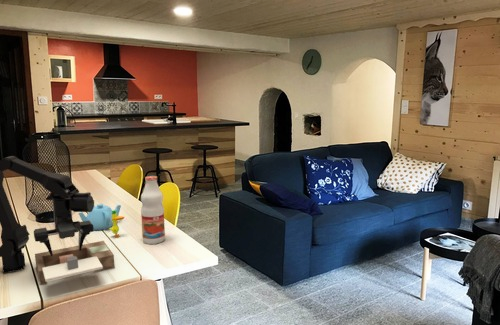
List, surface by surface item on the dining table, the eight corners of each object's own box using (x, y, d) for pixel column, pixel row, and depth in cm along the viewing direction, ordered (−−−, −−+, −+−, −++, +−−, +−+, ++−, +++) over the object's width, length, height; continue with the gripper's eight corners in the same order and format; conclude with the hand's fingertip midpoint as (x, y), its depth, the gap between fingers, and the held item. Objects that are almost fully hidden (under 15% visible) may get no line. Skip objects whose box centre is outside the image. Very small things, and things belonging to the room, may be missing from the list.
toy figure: (124, 233, 176) (123, 208, 173) (126, 236, 172) (124, 210, 170) (108, 236, 172) (107, 210, 170) (110, 238, 169) (108, 212, 167)
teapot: (77, 231, 178) (75, 208, 176) (92, 220, 193) (90, 199, 191) (110, 232, 178) (108, 209, 176) (122, 221, 192) (121, 200, 190)
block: (61, 273, 138) (60, 261, 137) (60, 268, 142) (59, 256, 141) (75, 270, 140) (74, 258, 139) (73, 265, 144) (72, 254, 143)
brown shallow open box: (40, 285, 129) (38, 270, 128) (36, 266, 142) (34, 253, 142) (114, 267, 142) (113, 254, 141) (104, 252, 155) (103, 240, 154)
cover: (45, 281, 120) (44, 270, 120) (42, 270, 128) (41, 259, 128) (102, 268, 130) (102, 257, 129) (96, 258, 137) (95, 248, 137)
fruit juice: (162, 235, 174) (160, 173, 169) (167, 242, 166) (164, 178, 161) (140, 238, 170) (137, 175, 165) (144, 246, 162) (141, 180, 157)
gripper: (34, 222, 125) (38, 267, 128) (95, 213, 135) (98, 255, 138) (31, 213, 135) (35, 255, 137) (89, 205, 144) (91, 245, 147)
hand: (66, 253), depth 140 cm, fingers open, 9 cm apart
